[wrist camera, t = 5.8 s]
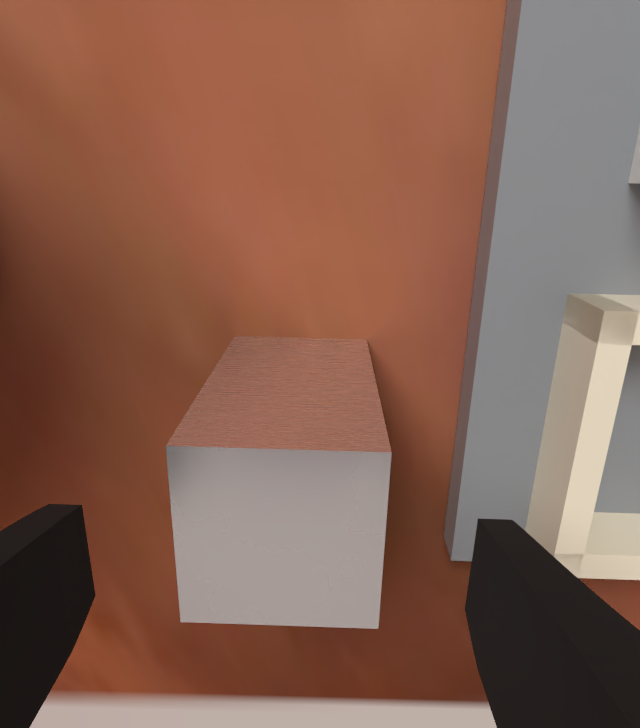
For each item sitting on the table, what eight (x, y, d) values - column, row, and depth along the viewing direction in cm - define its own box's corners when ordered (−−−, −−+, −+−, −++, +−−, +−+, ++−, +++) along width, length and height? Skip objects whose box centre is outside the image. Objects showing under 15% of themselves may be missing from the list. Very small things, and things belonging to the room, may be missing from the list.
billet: (238, 452, 17) (180, 622, 11) (234, 336, 16) (166, 445, 9) (360, 456, 17) (378, 628, 11) (366, 339, 16) (392, 452, 9)
